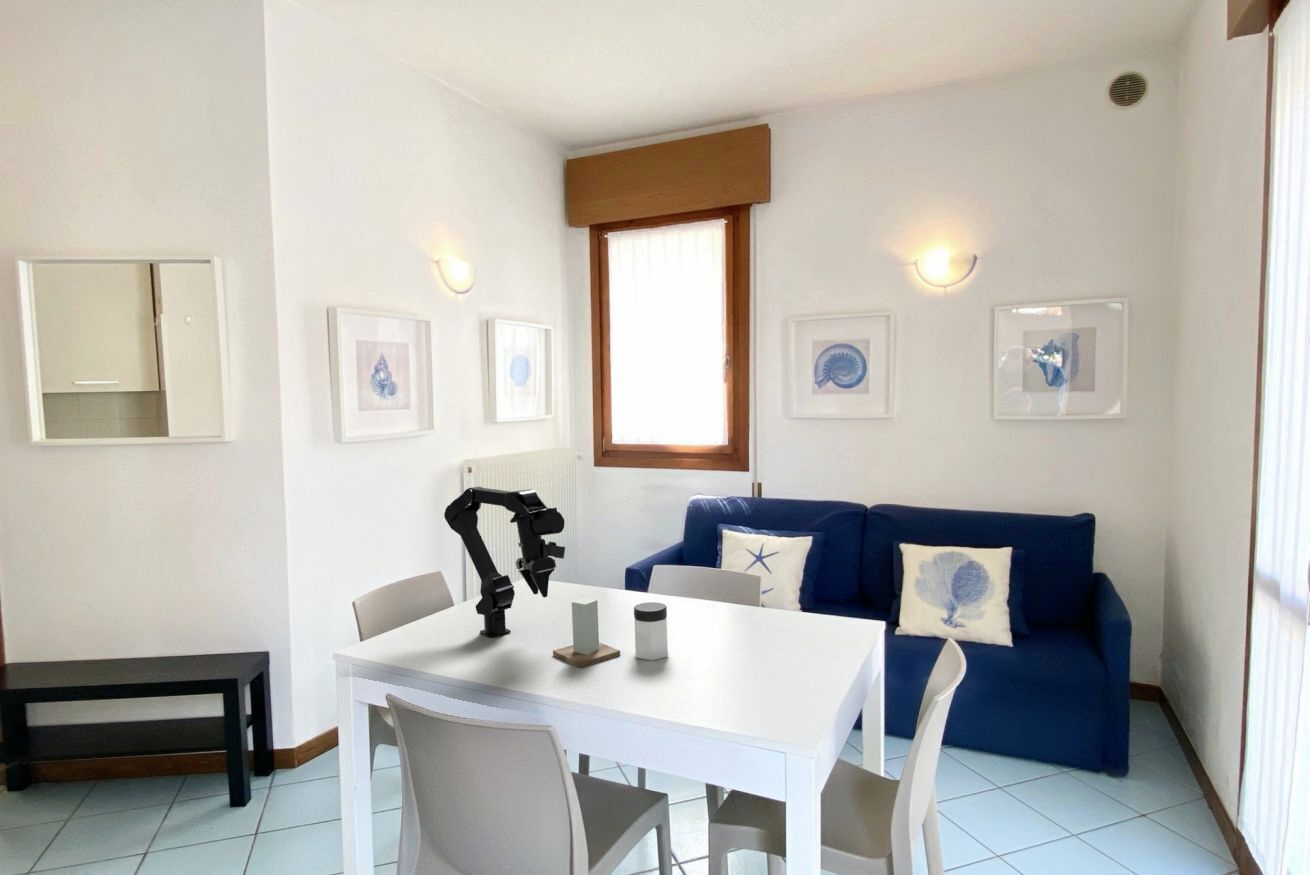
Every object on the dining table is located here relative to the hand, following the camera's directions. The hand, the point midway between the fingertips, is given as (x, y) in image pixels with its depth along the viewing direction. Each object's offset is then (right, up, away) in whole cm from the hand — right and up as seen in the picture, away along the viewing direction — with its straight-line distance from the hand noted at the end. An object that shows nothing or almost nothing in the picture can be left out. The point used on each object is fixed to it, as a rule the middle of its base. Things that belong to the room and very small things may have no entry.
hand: (540, 595), depth 185 cm
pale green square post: (+13, -11, -11) cm, 20 cm away
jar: (+29, -12, -11) cm, 34 cm away
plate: (+13, -13, -11) cm, 21 cm away
